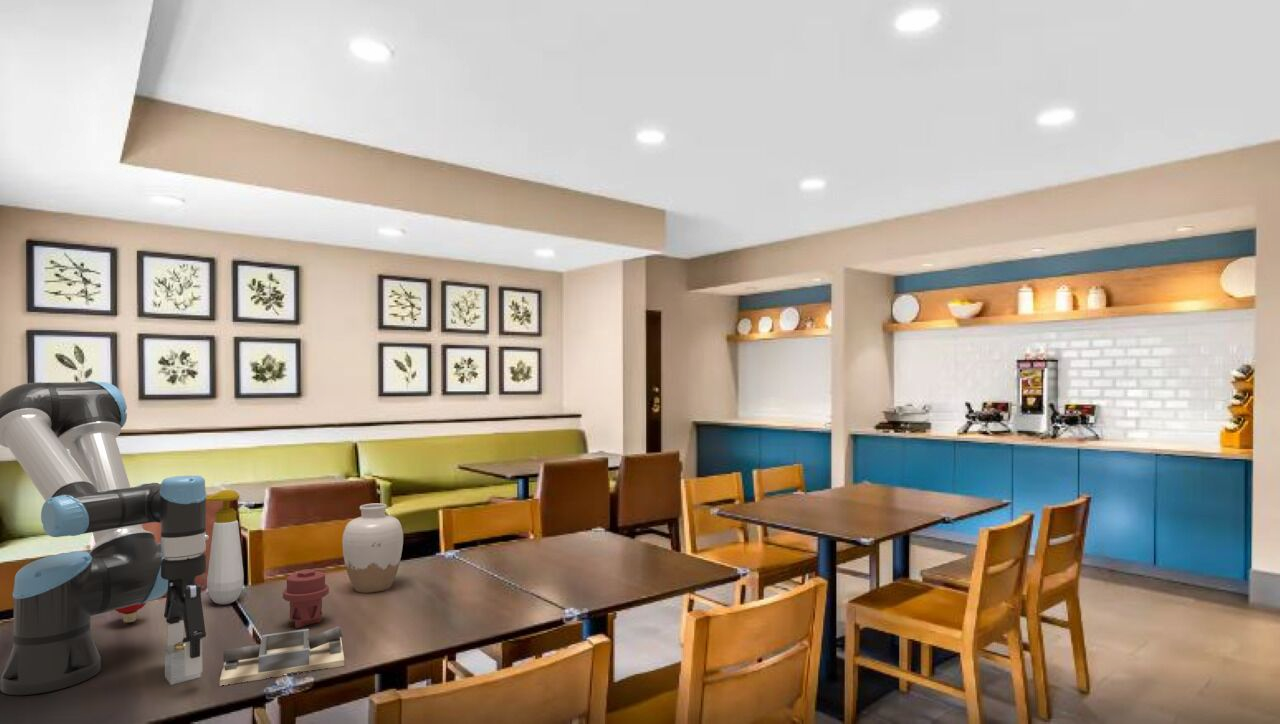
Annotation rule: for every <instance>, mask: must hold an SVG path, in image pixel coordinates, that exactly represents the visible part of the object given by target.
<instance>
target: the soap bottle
mask: <svg viewBox="0 0 1280 724" xmlns="http://www.w3.org/2000/svg"><path fill="white" fill-rule="evenodd" d="M239 499H240V495H239V493H238V492H237V491H235V490H231V489H224V490H220V491H218V492H216V493H213V494H212V495H210V496H207V497H206V503H207V502H222V508H221V509H217V511H216V512H215V518H214V519H215V522H213V525H212V526H213V527H212V535H211V544H210V553H209V561H208V569H207V579H206V585H207V586H206V588H207V592H208V594H209V595H208V596H209V597H210V599H211V600H212V601H213V602H214V603H215V604H217V605H223V606H224V605H229V604H230V605H231V604H233V603H234V602H236V601H237V600H238V599H239V597H240V596H241V594H242V591H243V586H244V578H245V577H244V575H245V574H244V567H243V556H242V546H241V538H240V529H239V521H238V519H237V510H235V508H233V507H232V508H231V507H230V502H231V501H235V500H239Z"/></svg>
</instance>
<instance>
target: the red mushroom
mask: <svg viewBox="0 0 1280 724" xmlns="http://www.w3.org/2000/svg"><path fill="white" fill-rule="evenodd" d="M146 604H147V602H145V603H143V604H136V605H132V606H128V607H124V608H120V609H116V610H115V611H116V612H117V613H119V614H122V615H123V618H122V621H123V622H124V623H126V624H129V625H130V624H133V623H134V622H135V621H136V620H137V619H138V610H141V609H143V607H144V606H145V605H146Z"/></svg>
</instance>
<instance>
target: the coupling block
mask: <svg viewBox="0 0 1280 724" xmlns="http://www.w3.org/2000/svg"><path fill="white" fill-rule="evenodd" d="M164 678H165V679H166V681H167V682H168V683H169V684H170V685H171V686H172V685H176V684H180V683H183V682H188V681H190V680H196V679H198V678H202V672H201V673H197V674H194V675H190V676H185V643H183V642H182V641H181V642H178V643H176V644H174V645H170V646H167V645H166V646H164Z"/></svg>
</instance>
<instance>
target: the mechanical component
mask: <svg viewBox="0 0 1280 724" xmlns="http://www.w3.org/2000/svg"><path fill="white" fill-rule="evenodd" d="M329 592H330V586H329V585H328V584H326V573H325V572H323V571H319V570H315V569H314V568H313V569H312V568H308V569H307V568H306V569H301V570H298V571H297V572H295V573H293V574H290V575H288V576H287V577H286V588H285V589H284V590H283V591H282V599H283V600H285V601H286V602H289V620H290V621H291V622H292V621H293V622H294V627H295V628H297V629H298V628H299V629H300V628H302V627H305V626H308V625H312V624H317V623H321V621H322V615H323V612H322V610H323V609H322V607H323V598H324V597H326V596H327V595H328V594H329Z"/></svg>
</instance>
